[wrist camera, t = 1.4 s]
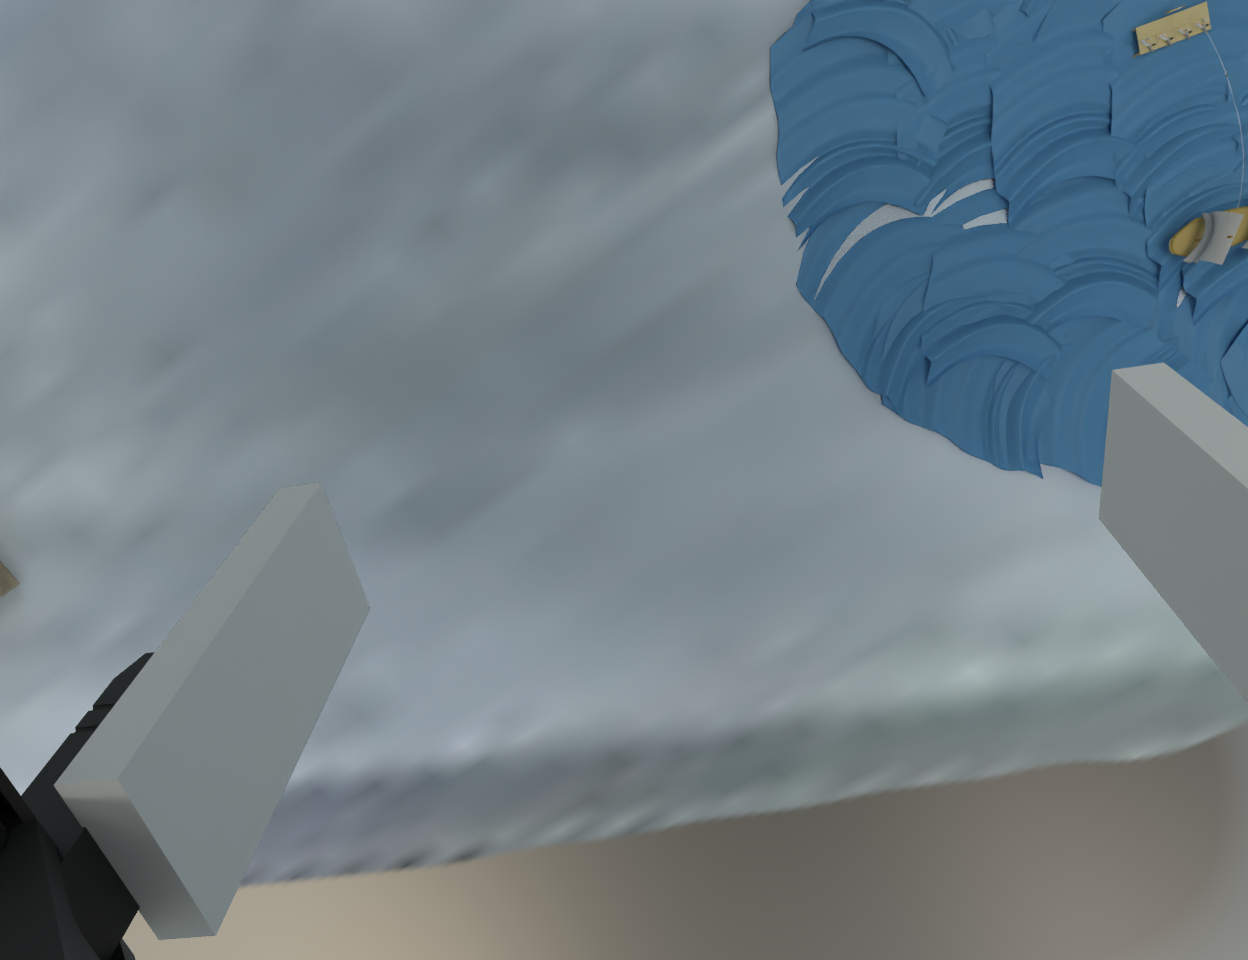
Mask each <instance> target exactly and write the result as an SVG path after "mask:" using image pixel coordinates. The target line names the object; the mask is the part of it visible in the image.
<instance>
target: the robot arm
mask: <svg viewBox="0 0 1248 960" xmlns="http://www.w3.org/2000/svg"><path fill="white" fill-rule="evenodd" d="M1099 519H1100V521H1101V522H1102V523H1103V524H1104V526H1105V527H1106V528H1107V529H1108V531H1109V532H1110V533H1111V534H1112V536H1113V537H1114V538H1115V539H1116V540H1117V542H1118V543H1119V544H1120V545H1121V547H1122V548H1123V549H1124V550H1125V552H1126V553H1127V554H1128V555H1129V557H1130V558H1131V559H1132V560H1133V562H1134V563H1135V564H1136V565H1137V567H1138V568H1139V569H1140V570H1141V572H1142V573H1143V574H1144V575H1145V577H1146V578H1147V579H1148V580H1149V582H1150V583H1151V584H1152V585H1153V587H1154V588H1155V589H1156V590H1157V592H1158V593H1159V594H1160V595H1161V597H1162V598H1163V599H1164V600H1165V601H1166V603H1167V604H1168V605H1169V606H1170V608H1171V609H1172V610H1173V611H1174V613H1175V614H1176V615H1177V616H1178V618H1179V619H1180V620H1181V621H1182V623H1183V624H1184V625H1185V626H1186V628H1187V629H1188V630H1189V631H1190V633H1191V634H1192V635H1193V636H1194V638H1195V639H1196V640H1197V641H1198V643H1199V644H1200V645H1201V646H1202V648H1203V649H1204V650H1205V651H1206V653H1207V654H1208V655H1209V656H1210V658H1211V659H1212V660H1213V661H1214V662H1215V664H1216V665H1217V666H1218V667H1219V669H1220V670H1221V671H1222V672H1223V674H1224V675H1225V676H1226V677H1227V679H1228V680H1229V681H1230V682H1231V684H1232V685H1233V686H1234V687H1235V689H1236V690H1237V691H1238V692H1239V694H1240V695H1241V696H1242V697H1243V699H1244V700H1245V701H1246V702H1247V704H1248V427H1247V426H1246V425H1244V424H1243V423H1242V422H1241V421H1239V420H1238V419H1237V418H1235V417H1234V416H1233V415H1231V414H1230V413H1229V412H1227V411H1226V410H1225V409H1224V408H1222V407H1221V406H1220V405H1218V404H1217V403H1216V402H1214V401H1213V400H1212V399H1211V398H1209V397H1208V396H1207V395H1205V394H1204V393H1203V392H1201V391H1200V390H1199V389H1198V388H1196V387H1195V386H1194V385H1192V384H1191V383H1190V382H1188V381H1187V380H1186V379H1185V378H1183V377H1182V376H1181V375H1179V374H1178V373H1177V372H1175V371H1174V370H1173V369H1172V368H1170V367H1169V366H1168V365H1166V364H1165V363H1157V364H1150V365H1143V366H1136V367H1129V368H1122V369H1115V370H1112V376H1111V387H1110V398H1109V410H1108V421H1107V432H1106V443H1105V455H1104V466H1103V477H1102V488H1101V500H1100V511H1099ZM369 610H370V606H369V604H368V601H367V599H366V596H365V594H364V591H363V588H362V586H361V583H360V581H359V578H358V576H357V573H356V571H355V568H354V565H353V563H352V560H351V558H350V555H349V553H348V550H347V547H346V545H345V542H344V540H343V537H342V535H341V532H340V530H339V527H338V524H337V522H336V519H335V517H334V514H333V512H332V509H331V507H330V504H329V501H328V499H327V496H326V494H325V491H324V489H323V486H322V483H321V482H320V483H313V484H305V485H298V486H291V487H284V488H280V489H279V490H278V491H277V493H276V494H275V495H274V496H273V498H272V499H271V500H270V502H269V503H268V504H267V506H266V507H265V508H264V510H263V511H262V512H261V514H260V515H259V516H258V517H257V519H256V520H255V521H254V523H253V524H252V525H251V527H250V528H249V529H248V531H247V532H246V533H245V535H244V536H243V537H242V539H241V540H240V541H239V542H238V544H237V545H236V546H235V548H234V549H233V550H232V552H231V553H230V554H229V556H228V557H227V558H226V560H225V561H224V562H223V563H222V565H221V566H220V567H219V569H218V570H217V571H216V573H215V574H214V575H213V577H212V578H211V579H210V581H209V582H208V583H207V584H206V586H205V587H204V588H203V590H202V591H201V592H200V594H199V595H198V596H197V598H196V599H195V600H194V602H193V603H192V604H191V605H190V607H189V608H188V609H187V611H186V612H185V613H184V615H183V616H182V617H181V619H180V620H179V621H178V623H177V624H176V625H175V626H174V628H173V629H172V630H171V632H170V633H169V634H168V636H167V637H166V638H165V640H164V641H163V642H162V644H161V645H160V646H159V647H158V649H157V650H156V651H155V652H153V653H145V654H144V655H143V656H142V657H140V658H139V659H138V660H137V661H135V662H134V663H133V664H132V665H130V666H129V667H128V668H127V669H125V670H124V671H123V672H122V673H120V674H119V675H118V676H117V677H115V678H114V679H113V681H112V682H111V683H110V684H109V686H108V687H107V688H106V689H105V691H104V692H103V693H102V694H101V696H100V697H99V698H98V700H97V701H96V702H95V703H94V705H93V711H88V712H87V713H86V715H85V716H84V717H83V719H82V720H81V721H80V722H79V724H78V725H77V726H76V727H75V729H76V732H75V733H71V734H70V735H69V736H68V737H67V739H66V740H65V741H64V743H63V744H62V745H61V746H60V748H59V749H58V750H57V751H56V753H55V754H54V755H53V756H52V758H51V759H50V760H49V761H48V763H47V764H46V765H45V767H44V768H43V769H42V770H41V772H40V773H39V774H38V775H37V777H36V778H35V779H34V780H33V782H32V783H31V784H30V785H29V787H28V788H27V789H26V791H25V792H24V793H23V794H22V796H20V794H19V793H18V792H17V790H16V789H15V787H14V786H13V785H12V783H11V782H10V780H9V779H8V778H7V776H6V775H5V773H4V772H3V771H2V769H1V768H0V960H135V957H134V955H133V953H132V952H131V950H130V949H129V947H128V946H127V945H126V943H125V942H124V940H123V939H122V937H123V936H124V934H125V932H126V930H127V929H128V927H129V925H130V923H131V921H132V920H133V918H134V916H135V915H136V913H137V911H138V910H139V911H140V913H141V914H142V916H143V917H144V919H145V920H146V922H147V923H148V925H149V926H150V927H151V929H152V931H153V932H154V933H155V935H156V936H157V938H158V939H159V940H163V939H176V938H190V937H202V936H215V935H216V934H217V932H218V929H219V927H220V925H221V923H222V921H223V919H224V917H225V915H226V912H227V910H228V908H229V906H230V904H231V902H232V900H233V897H234V896H235V893H236V891H237V889H238V887H239V885H240V883H241V881H242V879H243V876H244V874H245V872H246V870H247V868H248V866H249V864H250V862H251V860H252V857H253V855H254V853H255V851H256V849H257V847H258V845H259V843H260V840H261V838H262V836H263V834H264V832H265V830H266V828H267V826H268V824H269V821H270V819H271V817H272V815H273V813H274V811H275V809H276V807H277V804H278V802H279V800H280V798H281V796H282V794H283V792H284V790H285V788H286V785H287V783H288V781H289V779H290V777H291V775H292V773H293V771H294V768H295V766H296V764H297V762H298V760H299V758H300V756H301V754H302V752H303V749H304V747H305V745H306V743H307V741H308V739H309V737H310V735H311V732H312V730H313V728H314V726H315V724H316V722H317V720H318V718H319V716H320V713H321V711H322V709H323V707H324V705H325V703H326V701H327V699H328V696H329V694H330V692H331V690H332V688H333V686H334V684H335V682H336V680H337V677H338V675H339V673H340V671H341V669H342V667H343V665H344V663H345V660H346V658H347V656H348V654H349V652H350V650H351V648H352V646H353V644H354V641H355V639H356V637H357V635H358V633H359V631H360V629H361V627H362V624H363V622H364V620H365V618H366V616H367V614H368V612H369Z"/></svg>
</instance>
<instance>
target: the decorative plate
mask: <svg viewBox="0 0 1248 960" xmlns="http://www.w3.org/2000/svg"><path fill="white" fill-rule="evenodd" d="M770 50H771V69H770V84H771V92H772V97H773V101H774V106H775V109H776V112H777V115H778V121H779V141H778V150H777V164H778V171H779V176H780V181H781V185H782V184H783V183H785V182H786V181H787V180H788V179H789V178H790V177H791V176H792V175H793V174H795V173H796V172H797V171H798V170H799V169H800V168H801V167H803V166H804V165H806V164H807V163H809V162H810V161H811V160H813V159H814V158H816V157H818V156H819V157H818V158H817V159H816V160H815V161H814V162H813V163H812V164H811V165H810V166H808V167H807V168H806V169H805V170H804V171H803V172H802V173H801V174H800V175H799V176H798V177H797V179H796V180H795V181H794V182H793V184H792V185H791V187H790V188H789V189H788V191H787V192H786V193H785V195H784V196H783V198H782V200H783V207H784V206H785V205H786V204H787V203H789V202H790V201H791V200H792V199H793V198H794V197H795V196H796V195H798V194H799V193H800V192H801V191H803V190H804V189H806V188H808V187H809V189H808V190H807V191H806V192H805V193H804V194H803V196H802V197H801V199H800V200H799V202H798V203H797V204H796V206H795V207H794V208H793V210H792V211H791V213H790V214H789V215H788V217H789V218H790V219H791V220H792V221H793V222H794V223H795V225H796V237H798V236H799V235H800V234H801V233H803V232H804V231H805V230H806V229H807V228H809V227H810V228H809V231H808V232H807V234H806V237H805V238H804V240H803V242H802V244H803V243H804V244H805V242H806V241H807V239H808V238H809V237H810V238H809V240H808V243H807V245H806V247H805V250H804V252H803V258H802V262H801V266H800V270H799V274H798V278H797V282H796V285H797V287H798V289H799V291H800V292H801V294H802V296H803V297H804V299H805V300H806V301H807V302H808V304H809V305H810V306H811V307H812V308H813V309H814V310H815V311H816V312H817V313H818V314H819V315H821V316H822V317H823V318H824V319H825V321H826V322H827V324H828V326H829V327H830V329H831V331H832V333H833V335H834V337H835V339H836V341H837V343H838V345H839V348H840V350H841V351H842V353H843V355H844V356H845V358H846V359H847V360H848V361H849V363H850V364H851V365H852V366H853V367H854V368H855V369H856V371H857V372H858V374H859V375H860V377H861V378H862V380H863V381H864V382H865V384H866V385H867V386H868V388H869V389H870V390H871V391H873V392H875V393H879V394H881V395H882V404H883V405H884V406H886V407H888V408H889V409H891V410H892V411H894V412H895V413H896V414H898V415H899V416H901V417H902V418H903V419H905V420H906V421H908V422H910V423H913V424H916V425H919V426H921V427H924V428H926V429H929V430H932V431H935V432H938V433H940V434H942V435H943V436H945V437H946V438H948V439H949V440H951V441H952V442H953V443H955V444H956V445H957V446H958V447H959V448H960V449H962V450H963V451H965V452H966V453H968V454H970V455H972V456H975V457H978V458H980V459H983V460H986V461H988V462H990V463H992V464H993V465H995V466H997V467H999V468H1000V469H1003V470H1008V471H1012V470H1021V471H1028V472H1030V473H1032V474H1034V475H1037V476H1039V477H1041V478H1042V479H1043V476H1042V472H1041V468H1040V464H1039V463H1041V464H1045V465H1049V466H1054V467H1059V468H1063V469H1065V470H1068V471H1070V472H1072V473H1074V474H1076V475H1078V476H1080V477H1081V478H1083V479H1085V480H1086V481H1088V482H1090V483H1092V484H1095V485H1098V486H1102V477H1103V466H1104V455H1105V443H1106V432H1107V421H1108V410H1109V398H1110V387H1111V376H1112V370H1115V369H1122V368H1129V367H1136V366H1143V365H1150V364H1157V363H1165V364H1166V365H1168V366H1169V367H1170V368H1172V369H1173V370H1174V371H1175V372H1177V373H1178V374H1179V375H1181V376H1182V377H1183V378H1185V379H1186V380H1187V381H1188V382H1190V383H1191V384H1192V385H1194V386H1195V387H1196V388H1198V389H1199V390H1200V391H1201V392H1203V393H1204V394H1205V395H1207V396H1208V397H1209V398H1211V399H1212V400H1213V401H1214V402H1216V403H1217V404H1218V405H1220V406H1221V407H1222V408H1224V409H1225V410H1226V411H1227V412H1229V413H1230V414H1231V415H1233V416H1234V417H1235V418H1237V419H1238V420H1239V421H1241V422H1242V423H1243V424H1244V425H1246V426H1247V427H1248V0H810V1H809V2H808V4H807V5H806V6H805V7H804V8H803V9H802V10H801V11H800V12H799V13H798V14H797V16H796V19H795V23H794V25H793V26H792V27H791V28H790V29H789V30H788V31H787V32H786V33H784V34H783V35H782V36H781V37H780V38H779V39H778V40H777V42H776V43H775V44H774V45H773V46H772V47H771V48H770ZM988 178H995V185H996V188H992V189H988V190H984V191H981V192H978V193H976V194H974V195H971V196H969V197H966V198H964V199H962V200H959V201H957V202H956V203H954V204H952V205H951V206H949V207H947V208H946V209H944V210H943V211H941V212H939V213H938V214H936V215H934V216H933V217H913V218H906V219H901V220H897V221H893V222H890V223H888V224H885V225H883V226H881V227H879V228H877V229H875V230H873V231H872V232H870V233H869V234H867V235H866V236H864V237H863V238H861V239H860V240H859V241H858V242H857V243H855V244H854V245H853V246H852V248H851V249H850V250H849V251H848V252H847V253H846V254H845V255H844V256H843V257H842V258H841V259H840V260H839V262H838V263H837V264H836V266H835V267H834V269H833V270H832V272H831V273H830V275H829V276H828V278H827V279H826V281H825V282H824V284H823V286H822V288H821V290H820V291H819V293H818V295H817V297H816V299H814V298H815V295H816V293H817V290H818V287H819V285H820V282H821V279H822V277H823V275H824V273H825V272H826V270H827V268H828V266H829V264H830V262H831V260H832V258H833V257H834V255H835V254H836V252H837V251H838V249H839V248H840V247H841V245H842V244H843V242H844V241H845V240H846V238H847V237H848V235H849V234H850V233H851V232H852V231H853V230H854V229H855V227H857V226H858V225H859V224H860V223H861V222H862V221H863V220H864V219H865V218H867V217H868V216H869V215H870V214H872V213H873V212H874V211H876V210H877V209H879V208H880V207H882V206H884V205H885V204H887V203H889V204H893V205H896V206H900V207H904V208H906V209H908V210H910V211H913V212H915V213H917V214H919V215H924V213H925V210H926V208H927V206H928V204H929V202H930V201H931V200H932V199H933V198H934V197H936V196H937V195H938V194H939V193H941V192H942V191H943V190H945V189H947V190H946V192H945V194H944V195H943V197H942V198H941V200H940V201H939V202H938V204H937V205H936V207H935V209H934V210H936V209H937V208H938V206H939V205H940V204H941V203H942V202H943V201H944V200H946V199H947V198H948V197H949V196H950V195H951V194H953V193H954V192H956V191H957V190H958V189H960V188H962V187H964V186H965V185H968V184H970V183H972V182H975V181H979V180H983V179H988ZM1008 208H1009V214H1008V223H1000V224H992V225H983V226H977V227H973V228H969V229H965V230H964V229H963V226H962V225H963V224H965V223H967V222H969V221H971V220H973V219H975V218H977V217H979V216H982V215H985V214H988V213H992V212H995V211H999V210H1002V209H1008ZM934 210H933V211H934ZM932 213H933V212H932ZM932 213H931V214H932ZM802 244H801V246H803V245H804V244H803V245H802ZM801 246H800V247H801ZM800 247H799V249H800ZM801 248H802V247H801ZM799 249H798V250H799ZM1183 282H1184V283H1183ZM1182 284H1183V286H1184V290H1185V291H1186V292H1187V293H1188V294H1187V295H1186V296H1185V298H1184V300H1183V301H1182V303H1181V304H1180V306H1179V307H1178V308H1177V306H1176V305H1177V299H1178V295H1179V292H1180V289H1181V286H1182Z"/></svg>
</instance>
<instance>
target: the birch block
mask: <svg viewBox="0 0 1248 960" xmlns="http://www.w3.org/2000/svg"><path fill="white" fill-rule="evenodd" d="M18 584H20V583H19V582H18V581H17V580H16V579H15V578H14V576H13V575H12V574H11V573H10V572H9V571H8V570H7V568H6V567H5V566H4V565H3V564H2V563H1V561H0V597H2V596H3V595H4V594H6V593H7V592H9V591H10V590H11V589H13V588H14V587H16V586H17V585H18Z"/></svg>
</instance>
